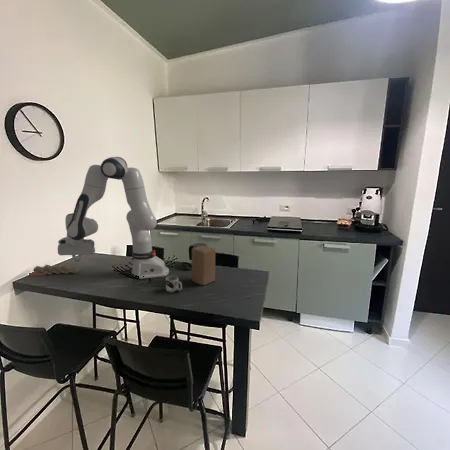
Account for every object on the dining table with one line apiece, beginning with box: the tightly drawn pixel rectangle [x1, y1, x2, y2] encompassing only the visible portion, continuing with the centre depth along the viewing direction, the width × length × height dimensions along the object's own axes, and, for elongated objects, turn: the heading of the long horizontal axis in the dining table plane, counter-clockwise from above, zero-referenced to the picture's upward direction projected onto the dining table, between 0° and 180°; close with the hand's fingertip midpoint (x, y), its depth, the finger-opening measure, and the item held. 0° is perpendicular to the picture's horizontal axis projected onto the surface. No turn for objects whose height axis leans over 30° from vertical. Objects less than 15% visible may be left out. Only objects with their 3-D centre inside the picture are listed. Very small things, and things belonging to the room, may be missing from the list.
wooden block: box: [191, 245, 216, 286], centre depth 159 cm, size 10×10×20 cm
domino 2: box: [32, 265, 54, 275], centre depth 167 cm, size 2×4×10 cm
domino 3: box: [42, 264, 63, 275], centre depth 169 cm, size 2×4×10 cm
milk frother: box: [181, 242, 208, 271], centre depth 181 cm, size 14×16×15 cm
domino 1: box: [29, 271, 47, 276], centre depth 167 cm, size 2×4×10 cm
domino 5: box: [59, 263, 80, 275], centre depth 170 cm, size 2×4×10 cm
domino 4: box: [51, 264, 71, 275], centre depth 169 cm, size 2×4×10 cm
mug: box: [165, 275, 183, 293], centre depth 149 cm, size 10×7×7 cm, turn 58°
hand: (77, 261), depth 169 cm, fingers closed
